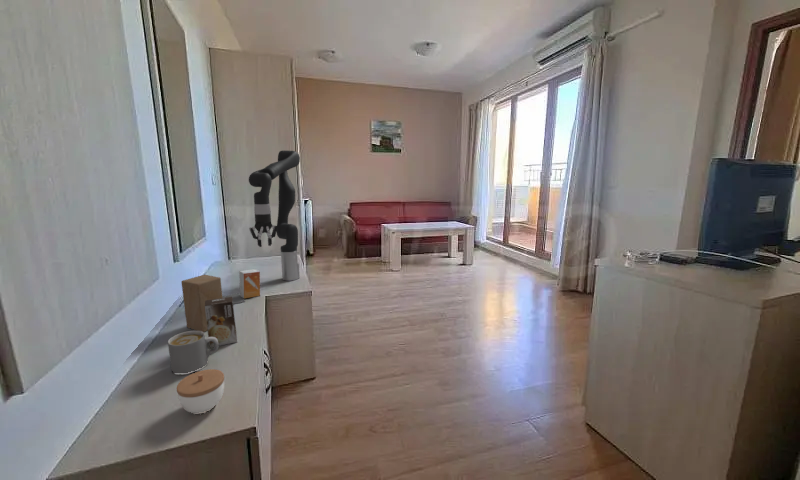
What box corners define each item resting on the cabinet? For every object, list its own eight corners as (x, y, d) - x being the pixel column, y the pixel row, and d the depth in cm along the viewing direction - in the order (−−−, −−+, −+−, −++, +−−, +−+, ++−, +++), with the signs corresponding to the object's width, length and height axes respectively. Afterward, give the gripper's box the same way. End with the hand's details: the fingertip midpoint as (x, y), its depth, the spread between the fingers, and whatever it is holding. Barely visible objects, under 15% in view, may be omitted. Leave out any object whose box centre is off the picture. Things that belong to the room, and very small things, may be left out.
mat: (238, 293, 171) (238, 293, 171) (245, 302, 161) (245, 301, 160) (198, 301, 161) (198, 300, 160) (202, 310, 150) (202, 309, 150)
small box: (244, 299, 163) (243, 273, 161) (239, 295, 168) (238, 270, 166) (260, 295, 169) (260, 271, 167) (255, 292, 173) (255, 268, 171)
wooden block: (225, 323, 138) (221, 277, 134) (202, 333, 129) (197, 284, 125) (209, 318, 142) (204, 274, 138) (186, 328, 133) (180, 280, 129)
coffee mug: (168, 378, 100) (164, 348, 98) (175, 361, 109) (171, 333, 107) (218, 368, 105) (215, 339, 103) (220, 353, 114) (218, 326, 112)
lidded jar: (233, 393, 93) (230, 363, 91) (213, 421, 83) (210, 387, 81) (195, 394, 93) (191, 363, 91) (170, 421, 82) (165, 388, 81)
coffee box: (236, 335, 127) (233, 295, 124) (237, 342, 122) (233, 301, 119) (209, 340, 123) (205, 299, 120) (208, 348, 117) (204, 305, 114)
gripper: (274, 211, 173) (276, 243, 176) (245, 213, 165) (248, 246, 168) (279, 212, 167) (281, 245, 170) (249, 214, 159) (252, 249, 162)
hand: (264, 246), depth 169 cm, fingers open, 4 cm apart
